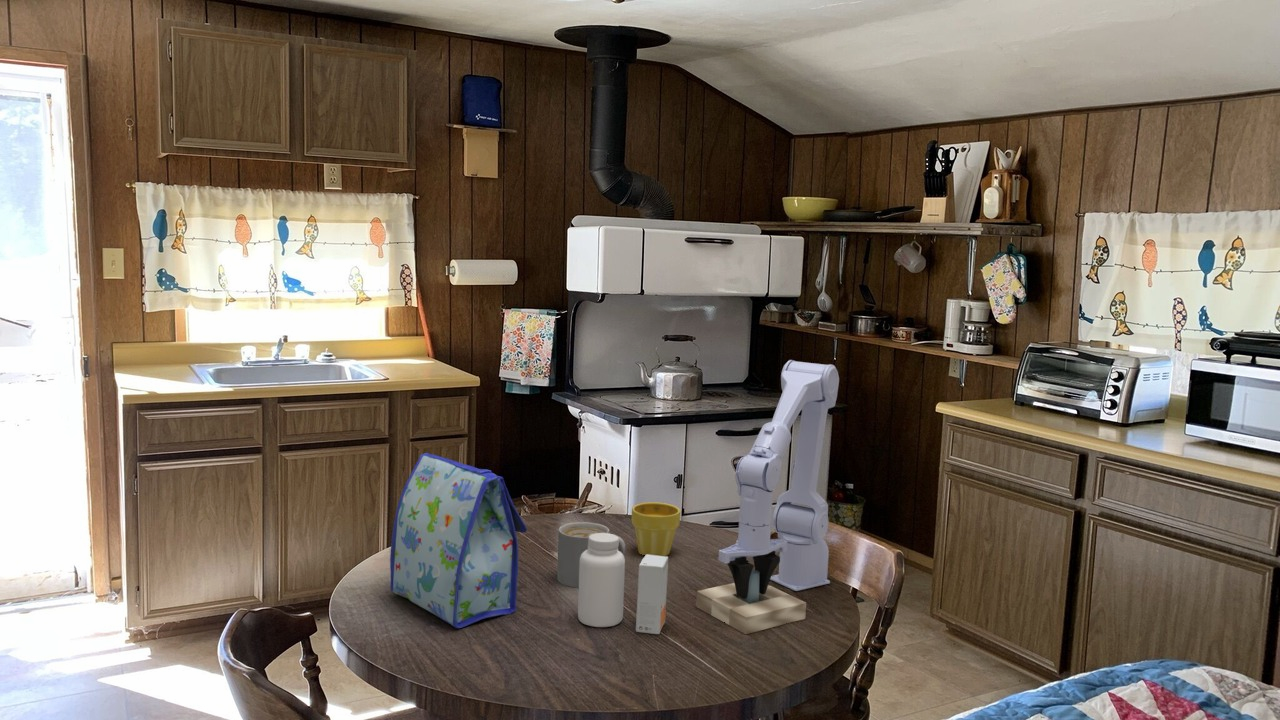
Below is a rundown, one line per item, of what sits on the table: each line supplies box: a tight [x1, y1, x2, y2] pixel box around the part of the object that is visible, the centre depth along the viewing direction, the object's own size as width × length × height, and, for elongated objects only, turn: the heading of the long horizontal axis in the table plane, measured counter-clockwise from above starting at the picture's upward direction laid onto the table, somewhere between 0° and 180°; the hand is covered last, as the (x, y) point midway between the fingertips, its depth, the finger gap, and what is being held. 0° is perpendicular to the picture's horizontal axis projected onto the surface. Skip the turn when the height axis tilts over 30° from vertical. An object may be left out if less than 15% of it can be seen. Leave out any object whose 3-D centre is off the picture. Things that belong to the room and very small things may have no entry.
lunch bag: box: [389, 452, 528, 629], centre depth 171 cm, size 22×17×26 cm
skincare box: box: [635, 554, 669, 635], centre depth 165 cm, size 6×4×12 cm
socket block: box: [695, 582, 807, 635], centre depth 174 cm, size 14×14×3 cm
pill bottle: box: [577, 532, 626, 628], centre depth 167 cm, size 8×8×15 cm
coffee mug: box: [556, 521, 626, 589], centre depth 187 cm, size 13×10×10 cm
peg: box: [739, 568, 760, 604], centre depth 174 cm, size 4×4×7 cm
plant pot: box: [631, 501, 681, 557], centre depth 204 cm, size 10×10×10 cm
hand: (751, 594), depth 173 cm, fingers open, 4 cm apart
